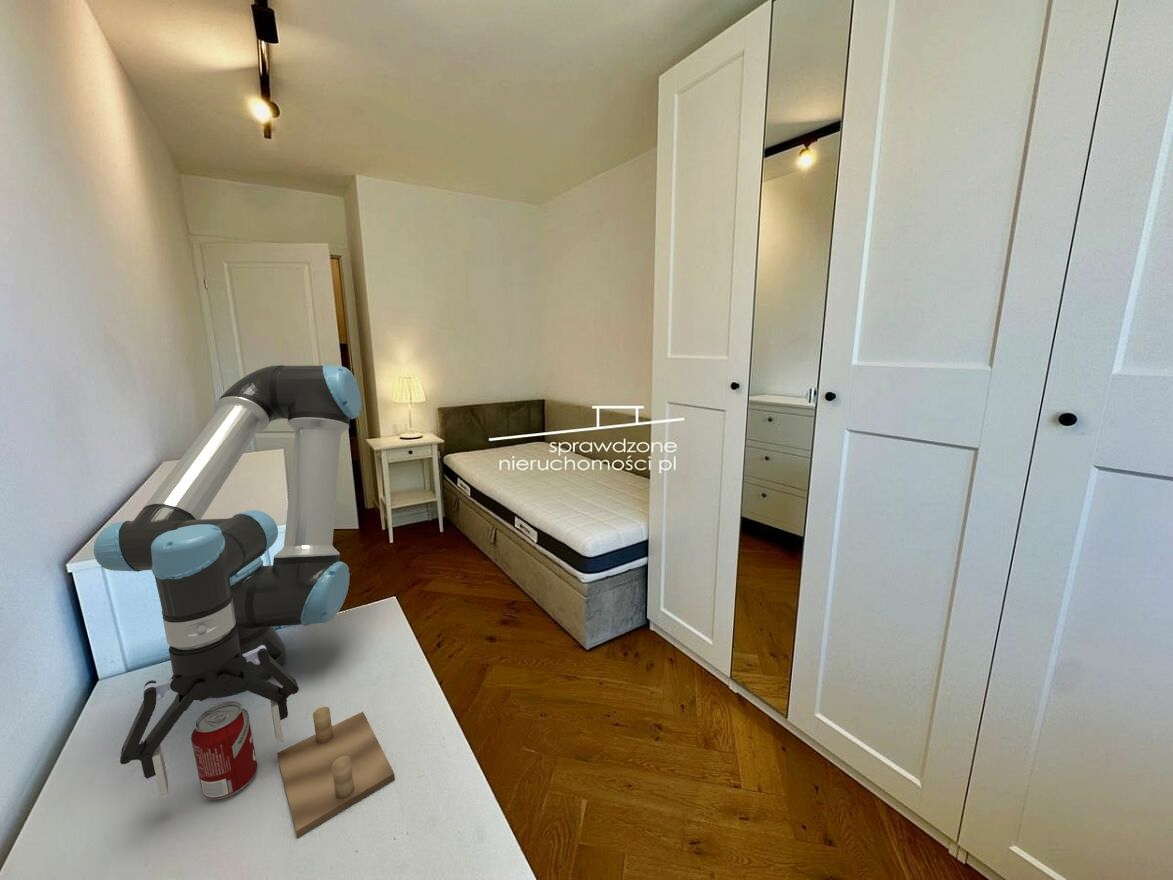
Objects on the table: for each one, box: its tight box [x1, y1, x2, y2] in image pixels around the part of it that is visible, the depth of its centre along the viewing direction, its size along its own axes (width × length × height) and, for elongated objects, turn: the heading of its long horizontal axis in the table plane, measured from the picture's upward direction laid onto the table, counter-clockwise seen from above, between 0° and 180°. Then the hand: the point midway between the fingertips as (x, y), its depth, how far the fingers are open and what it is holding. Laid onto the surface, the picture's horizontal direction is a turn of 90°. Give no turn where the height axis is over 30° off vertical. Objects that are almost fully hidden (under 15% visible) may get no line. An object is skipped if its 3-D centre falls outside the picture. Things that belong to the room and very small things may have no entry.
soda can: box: [190, 700, 259, 801], centre depth 69 cm, size 7×7×12 cm
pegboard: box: [276, 706, 396, 839], centre depth 72 cm, size 16×13×6 cm
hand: (225, 762), depth 69 cm, fingers open, 13 cm apart
